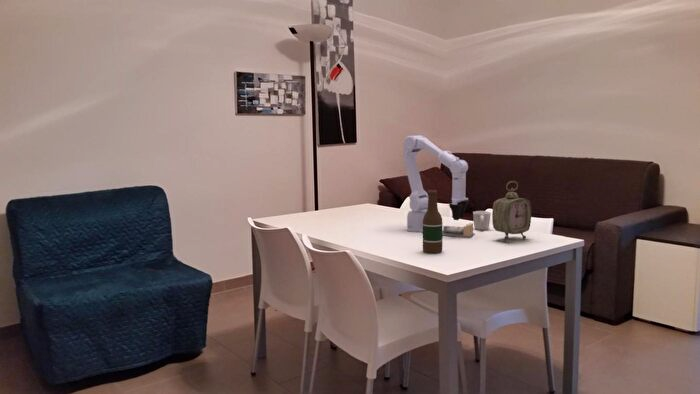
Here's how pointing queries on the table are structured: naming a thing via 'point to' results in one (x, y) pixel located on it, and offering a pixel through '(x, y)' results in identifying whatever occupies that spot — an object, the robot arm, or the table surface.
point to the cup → (481, 220)
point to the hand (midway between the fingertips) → (458, 218)
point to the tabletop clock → (511, 214)
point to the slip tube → (453, 229)
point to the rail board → (466, 232)
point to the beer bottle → (432, 226)
